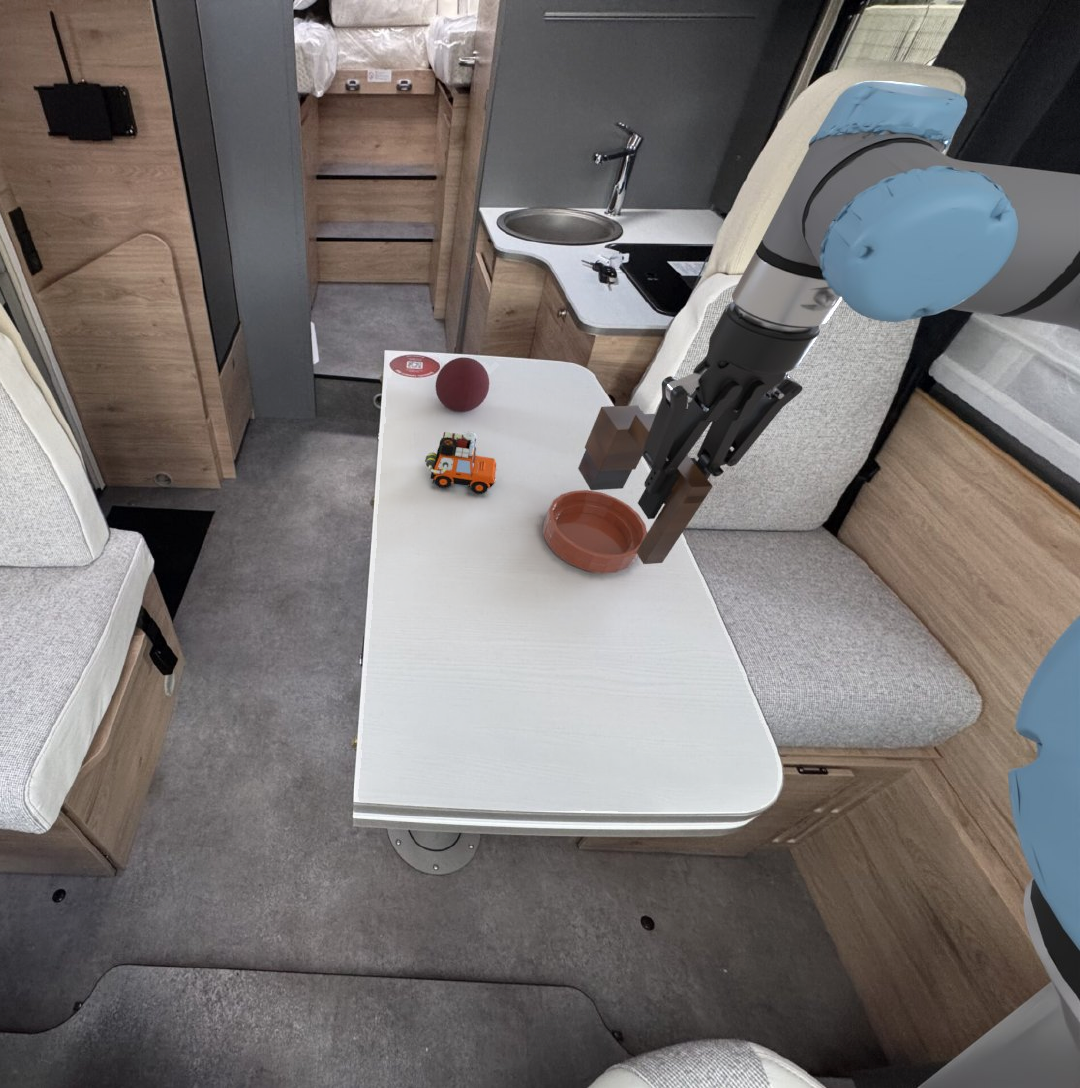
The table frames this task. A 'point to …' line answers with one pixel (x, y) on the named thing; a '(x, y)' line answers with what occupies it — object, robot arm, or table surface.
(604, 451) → the brown wooden mallet
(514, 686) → the table surface
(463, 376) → the decorative ball
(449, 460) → the toy car
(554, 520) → the bowl
